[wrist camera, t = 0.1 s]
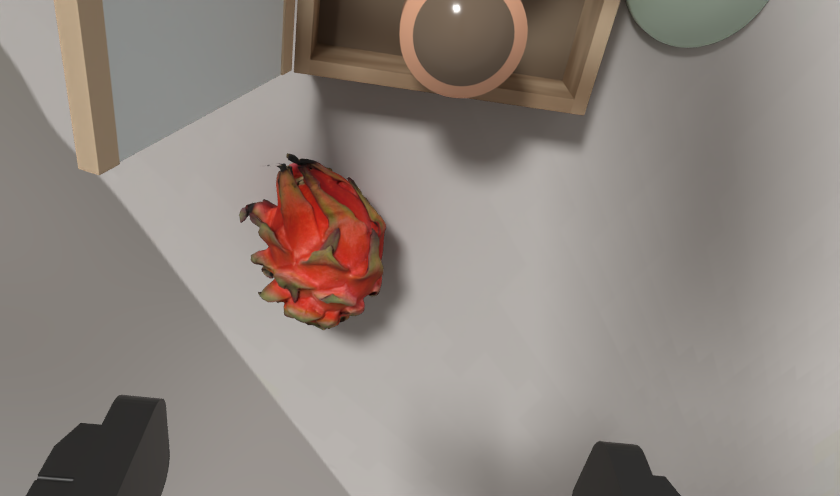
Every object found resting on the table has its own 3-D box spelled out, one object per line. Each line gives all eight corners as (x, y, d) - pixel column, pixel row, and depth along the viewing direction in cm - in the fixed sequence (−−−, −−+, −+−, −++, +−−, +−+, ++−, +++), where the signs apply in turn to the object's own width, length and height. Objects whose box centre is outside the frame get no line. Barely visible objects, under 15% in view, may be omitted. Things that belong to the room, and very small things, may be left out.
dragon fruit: (337, 283, 47) (302, 126, 42) (429, 305, 42) (402, 131, 37) (249, 342, 41) (197, 167, 36) (344, 376, 36) (298, 179, 31)
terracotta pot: (408, -66, 33) (409, -44, 27) (516, -47, 33) (542, -21, 27) (393, 45, 36) (391, 88, 30) (492, 61, 37) (511, 106, 30)
